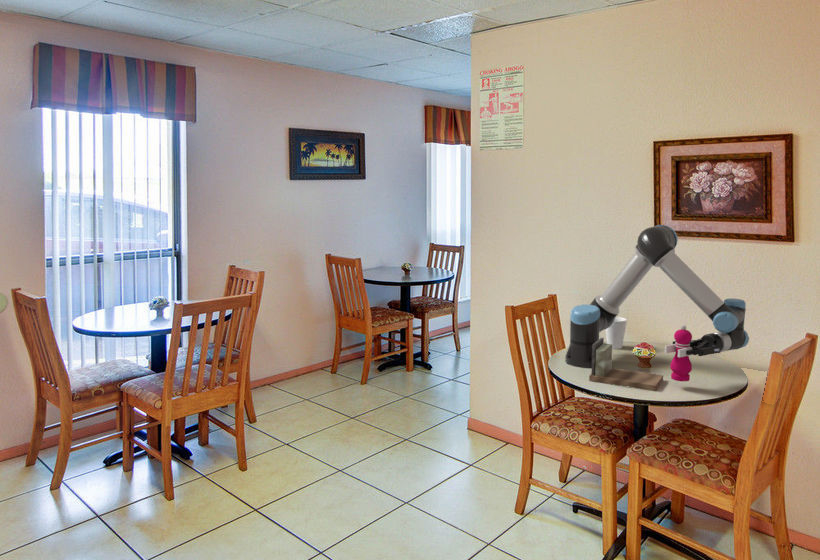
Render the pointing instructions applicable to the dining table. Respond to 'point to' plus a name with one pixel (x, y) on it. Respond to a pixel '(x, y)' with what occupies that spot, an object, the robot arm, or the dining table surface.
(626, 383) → the wooden bookend
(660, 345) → the dining table surface
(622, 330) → the foam cup
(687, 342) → the pepper mill
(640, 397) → the dining table surface
